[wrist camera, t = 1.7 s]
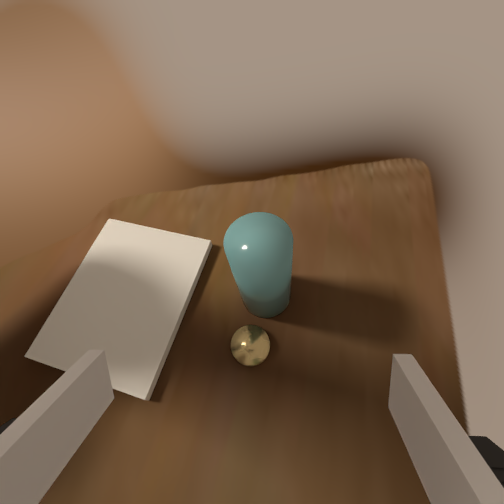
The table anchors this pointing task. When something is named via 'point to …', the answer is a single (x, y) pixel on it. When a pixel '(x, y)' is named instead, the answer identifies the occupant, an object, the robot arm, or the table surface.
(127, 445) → the table surface
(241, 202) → the table surface
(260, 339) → the beige mottled disc
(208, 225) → the table surface
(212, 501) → the table surface
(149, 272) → the pale board
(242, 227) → the teal canister
